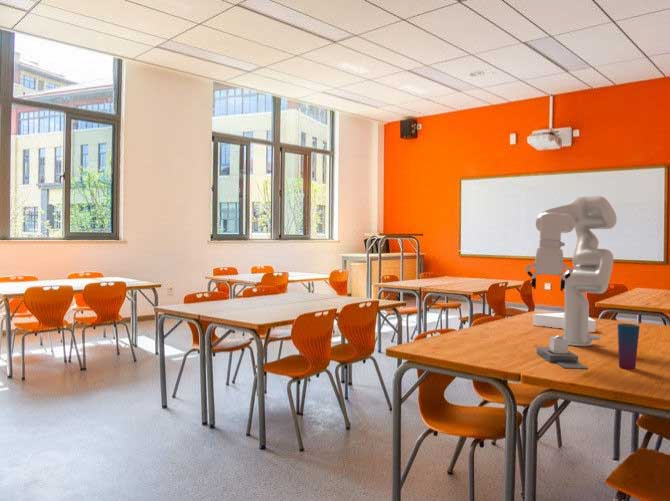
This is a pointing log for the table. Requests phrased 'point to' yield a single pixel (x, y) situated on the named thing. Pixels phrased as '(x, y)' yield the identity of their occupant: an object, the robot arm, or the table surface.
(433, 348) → the table surface
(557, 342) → the white upright block
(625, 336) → the cup
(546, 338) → the table surface
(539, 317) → the flat white box
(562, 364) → the mat
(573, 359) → the dark grey flat block
